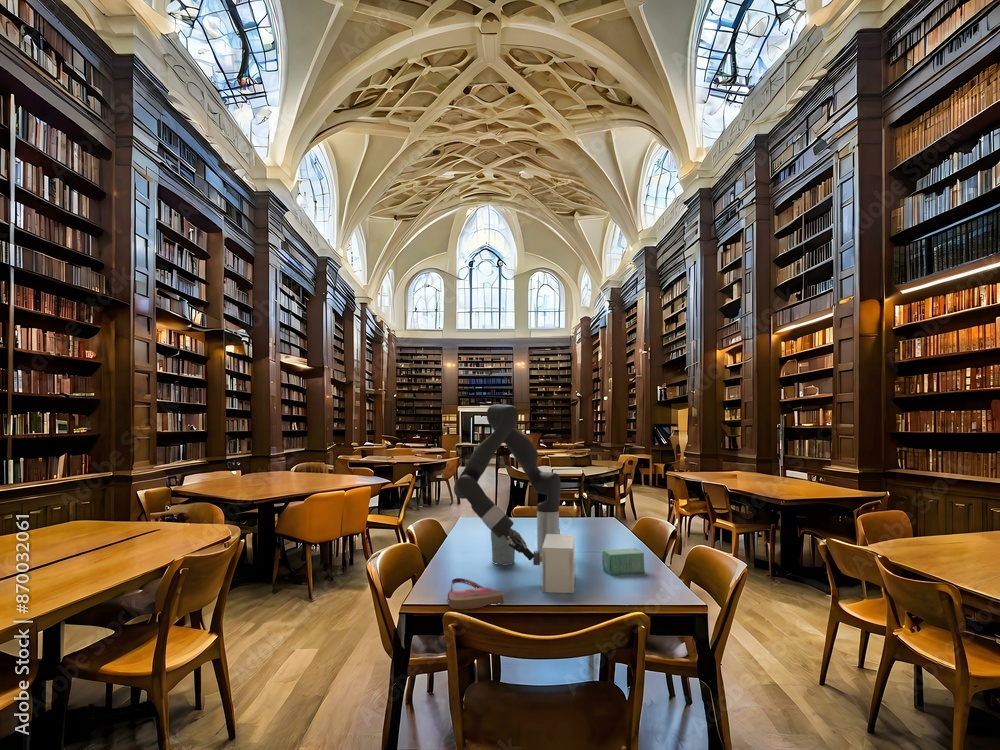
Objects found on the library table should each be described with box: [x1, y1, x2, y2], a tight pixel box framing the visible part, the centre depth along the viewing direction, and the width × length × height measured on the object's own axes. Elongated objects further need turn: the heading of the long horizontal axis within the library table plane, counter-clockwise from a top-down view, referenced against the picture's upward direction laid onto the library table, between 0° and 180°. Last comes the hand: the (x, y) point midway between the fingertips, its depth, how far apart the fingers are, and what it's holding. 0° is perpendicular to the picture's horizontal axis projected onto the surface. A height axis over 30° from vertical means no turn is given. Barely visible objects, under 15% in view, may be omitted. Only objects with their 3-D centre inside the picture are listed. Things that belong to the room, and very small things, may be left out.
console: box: [541, 533, 576, 594], centre depth 190 cm, size 22×10×14 cm, turn 172°
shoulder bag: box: [447, 577, 504, 610], centre depth 178 cm, size 17×3×28 cm
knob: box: [532, 550, 542, 566], centre depth 190 cm, size 5×8×5 cm, turn 82°
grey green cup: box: [490, 529, 516, 565], centre depth 217 cm, size 10×10×12 cm
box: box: [601, 547, 645, 576], centre depth 204 cm, size 7×14×8 cm, turn 102°
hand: (532, 558), depth 191 cm, fingers closed
